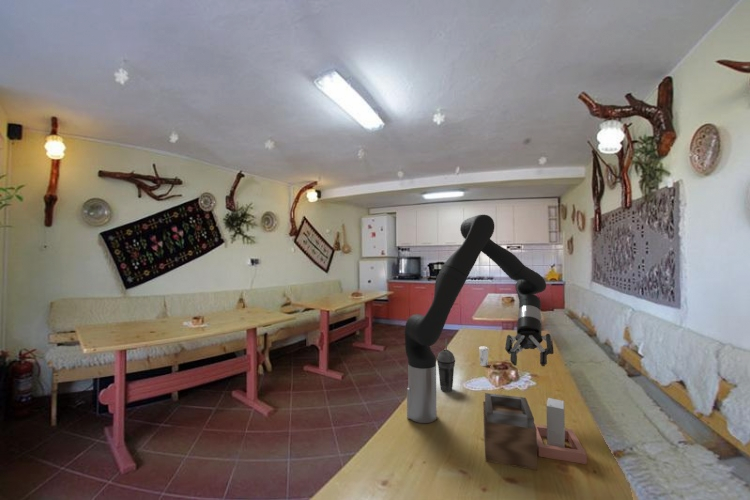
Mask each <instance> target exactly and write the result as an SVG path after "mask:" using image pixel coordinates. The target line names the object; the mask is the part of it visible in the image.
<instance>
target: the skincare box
mask: <svg viewBox="0 0 750 500" xmlns="http://www.w3.org/2000/svg"><path fill="white" fill-rule="evenodd" d="M565 413H566V412H565V400H560V399H556V398H551V397H547V401H546V426H547V437H546V445H550V446H557V447H564V448H566V443H565V442H566V440H565V428H566V423H565V422H566V421H565V420H566V419H565V418H566V416H565V415H566V414H565Z"/></svg>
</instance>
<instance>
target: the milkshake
mask: <svg viewBox="0 0 750 500" xmlns="http://www.w3.org/2000/svg"><path fill="white" fill-rule="evenodd" d="M490 347H491V345H489V346H488V347H487V346H484V345H482V346H479V347H478V351H479V353H478V354H479V362H480V364H479V365H480V366H481V367H488V365H489V363H488V361H489V349H490Z"/></svg>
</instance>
